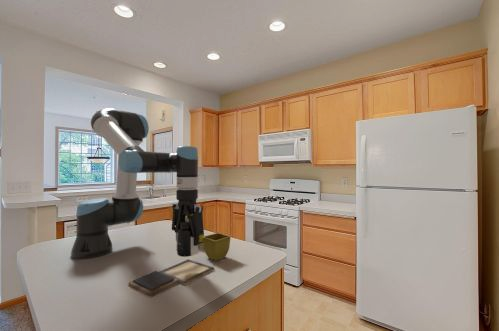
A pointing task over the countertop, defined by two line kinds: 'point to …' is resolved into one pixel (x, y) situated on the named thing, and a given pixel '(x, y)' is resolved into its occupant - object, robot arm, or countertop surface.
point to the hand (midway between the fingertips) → (187, 252)
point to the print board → (187, 271)
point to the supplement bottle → (184, 239)
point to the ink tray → (154, 292)
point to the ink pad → (153, 280)
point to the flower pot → (216, 245)
